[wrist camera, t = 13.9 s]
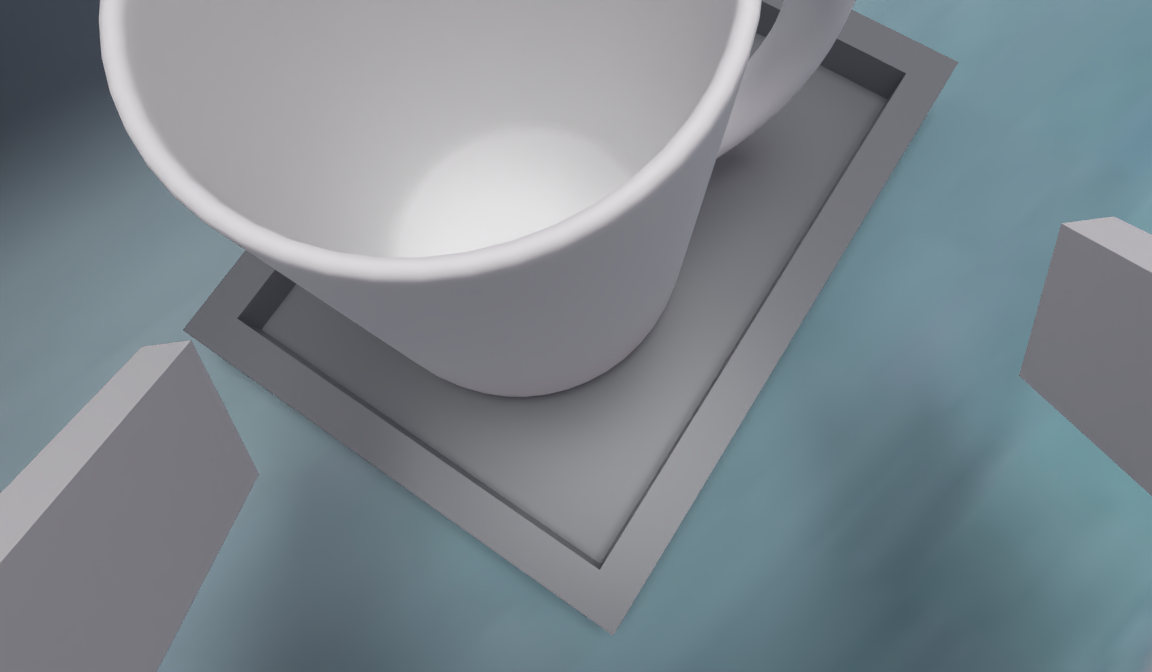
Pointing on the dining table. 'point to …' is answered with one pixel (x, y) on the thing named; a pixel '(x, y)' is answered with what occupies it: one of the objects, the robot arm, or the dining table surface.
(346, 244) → the mug
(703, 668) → the dining table surface
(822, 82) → the tray
